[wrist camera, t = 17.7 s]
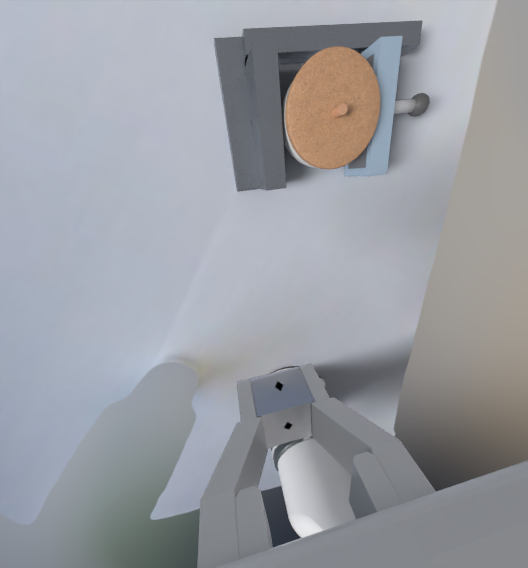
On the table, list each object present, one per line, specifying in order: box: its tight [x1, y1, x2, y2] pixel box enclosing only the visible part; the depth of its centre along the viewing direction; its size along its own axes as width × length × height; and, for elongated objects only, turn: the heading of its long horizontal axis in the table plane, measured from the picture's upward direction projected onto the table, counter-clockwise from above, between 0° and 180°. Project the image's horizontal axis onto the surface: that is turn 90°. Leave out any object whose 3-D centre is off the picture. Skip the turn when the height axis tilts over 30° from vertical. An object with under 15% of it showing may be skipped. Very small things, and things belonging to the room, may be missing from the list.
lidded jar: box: [281, 46, 380, 169], centre depth 27 cm, size 11×11×9 cm
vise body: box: [214, 21, 422, 191], centre depth 28 cm, size 16×24×6 cm, turn 97°
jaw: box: [345, 36, 429, 176], centre depth 30 cm, size 13×10×6 cm
